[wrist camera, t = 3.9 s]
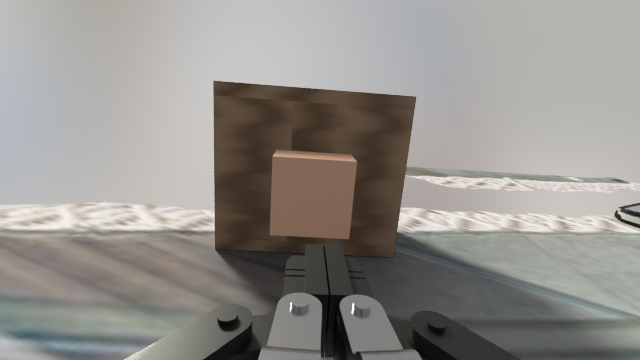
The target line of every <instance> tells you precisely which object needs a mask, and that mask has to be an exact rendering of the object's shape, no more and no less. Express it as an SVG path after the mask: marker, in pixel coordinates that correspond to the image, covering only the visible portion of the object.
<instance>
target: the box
mask: <svg viewBox="0 0 640 360" xmlns="http://www.w3.org/2000/svg"><path fill="white" fill-rule="evenodd" d="M415 102H416V97H413V96H400V95H387V94H374V93H361V92H348V91H335V90H323V89H310V88H297V87H284V86H272V85H271V86H270V85H259V84H246V83H233V82H221V81H214V170H215V171H214V174H215V175H214V176H215V177H214V178H215V180H214V181H215V249H223V250H245V251H266V252H288V253H305V244H318V245H323V247H324V245H341V246H342V250H343V254H344V255H352V256H374V257H393V255H394V248H395V241H396V234H397V227H398V220H399V213H400V205H401V199H402V192H403V186H404V178H405V172H406V165H407V158H408V151H409V144H410V136H411V130H412V123H413V116H414V109H415ZM276 150H289V151H304V152H319V153H334V154H350V155H352V156H353V157H354V159H355V160H356V161H357V168H356V177H355V187H354V197H353V206H352V216H351V225H350V235H349V239H336V238H316V237H296V236H276V235H270V214H271V186H272V159H273V155H274V153H275V151H276Z"/></svg>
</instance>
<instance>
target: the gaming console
mask: <svg viewBox="0 0 640 360" xmlns="http://www.w3.org/2000/svg"><path fill="white" fill-rule="evenodd" d="M615 217H616V218H618V219H619V220H620V221H622V222H625V223H626V224H629V225H632V226H635V227H639V228H640V203H637V204H632V205H628V206H623V207H619V208H618V210H617V211H616V212H615Z"/></svg>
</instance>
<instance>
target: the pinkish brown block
mask: <svg viewBox="0 0 640 360" xmlns="http://www.w3.org/2000/svg"><path fill="white" fill-rule="evenodd" d="M356 168H357V161H356V160H355V159H354V157H353V156H352V155H350V154H334V153H319V152H304V151H289V150H276V151H275V153H274V155H273V159H272V186H271V214H270V235H276V236H296V237H316V238H336V239H349V235H350V225H351V216H352V206H353V197H354V187H355V177H356Z"/></svg>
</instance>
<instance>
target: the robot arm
mask: <svg viewBox="0 0 640 360" xmlns="http://www.w3.org/2000/svg"><path fill="white" fill-rule="evenodd" d="M324 345H325V357H333V358H334V360H521V359H519V358H517V357H515V356H514V355H512V354H510V353H508V352H507V351H505V350H503V349H501V348H500V347H498V346H496V345H494V344H493V343H491V342H489V341H488V340H486V339H484V338H482V337H481V336H479V335H477V334H475V333H474V332H472V331H470V330H468V329H467V328H465V327H463V326H461V325H460V324H458V323H456V322H455V321H453V320H451V319H449V318H448V317H446V316H444V315H442V314H439V313H436V312H431V311H420V312H417V313H415V314H414V315H413V316H412V318H411V322H407V321H403V320H399V319H395V318H392V317H390V316H388V315H386V313H385V311H384V309H383V307H382V305H381V304H380V303H379V302H378V301H377V300H375V299H373V298H372V295H371V293H370V290H369V287H368V284H367V281H366V279H365V275H364V273H363V269H362V266H361V264H360V263H359V262H358V261H357V260H356V259H355V258H350V257H344V254H343V250H342V246H341V245H324V247H323V245H318V244H305V256H299V255H292V256H291V257H290V258H289V259H288V260H287V261H286V268H285V277H284V285H283V293H282V298H281V299H280V301H279V302H278V305H277V308H276V309H275V310H273V311H271V312H269V313H267V314H264V315H259V316H254V317H252V313H251V312H250V311H249V309H247V308H246V307H244V306H241V305H235V304H228V305H223V306H219V307H216V308H214V309H212V310H211V311H209V312H207V313H205V314H204V315H202V316H200V317H198V318H197V319H195V320H193V321H191V322H190V323H188V324H186V325H184V326H183V327H181V328H179V329H177V330H175V331H174V332H172V333H170V334H168V335H167V336H165V337H163V338H161V339H160V340H158V341H156V342H154V343H153V344H151V345H149V346H147V347H146V348H144V349H142V350H140V351H139V352H137V353H135V354H133V355H132V356H130V357H128V358H126V359H125V360H321V357H324Z"/></svg>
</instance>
